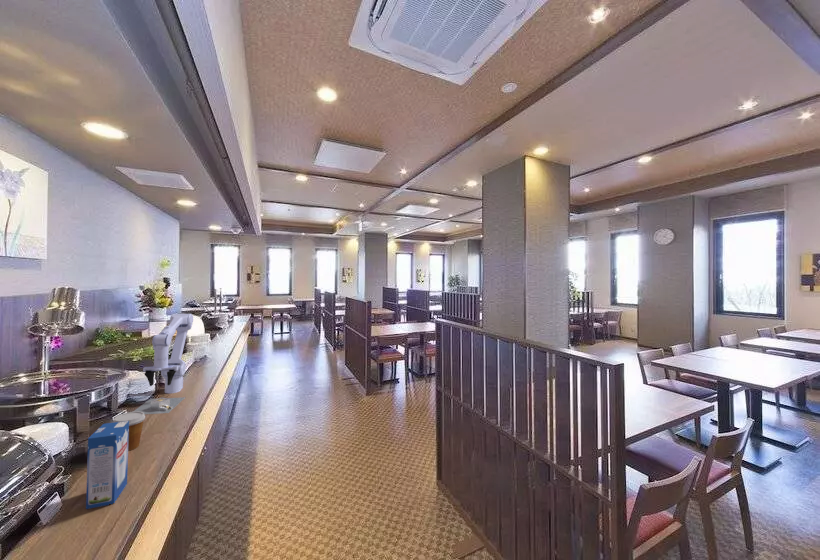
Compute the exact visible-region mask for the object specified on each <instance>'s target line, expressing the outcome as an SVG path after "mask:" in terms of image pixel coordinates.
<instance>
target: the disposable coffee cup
mask: <svg viewBox="0 0 820 560" xmlns="http://www.w3.org/2000/svg"><path fill="white" fill-rule="evenodd" d="M145 419H146V414H144V413H143V412H138V411H137V412H133V411H129V412H123V413H122V414H119V415H116V416H115V417H114V418H113V421H112V422H111V423H114V422H123V421H129V440H128V452H129V451H133V450H135V449H137V448H139V446H140V443H141V442H140V441H141V437H142V432H143V431H142V430H143V425H144V421H145Z"/></svg>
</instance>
